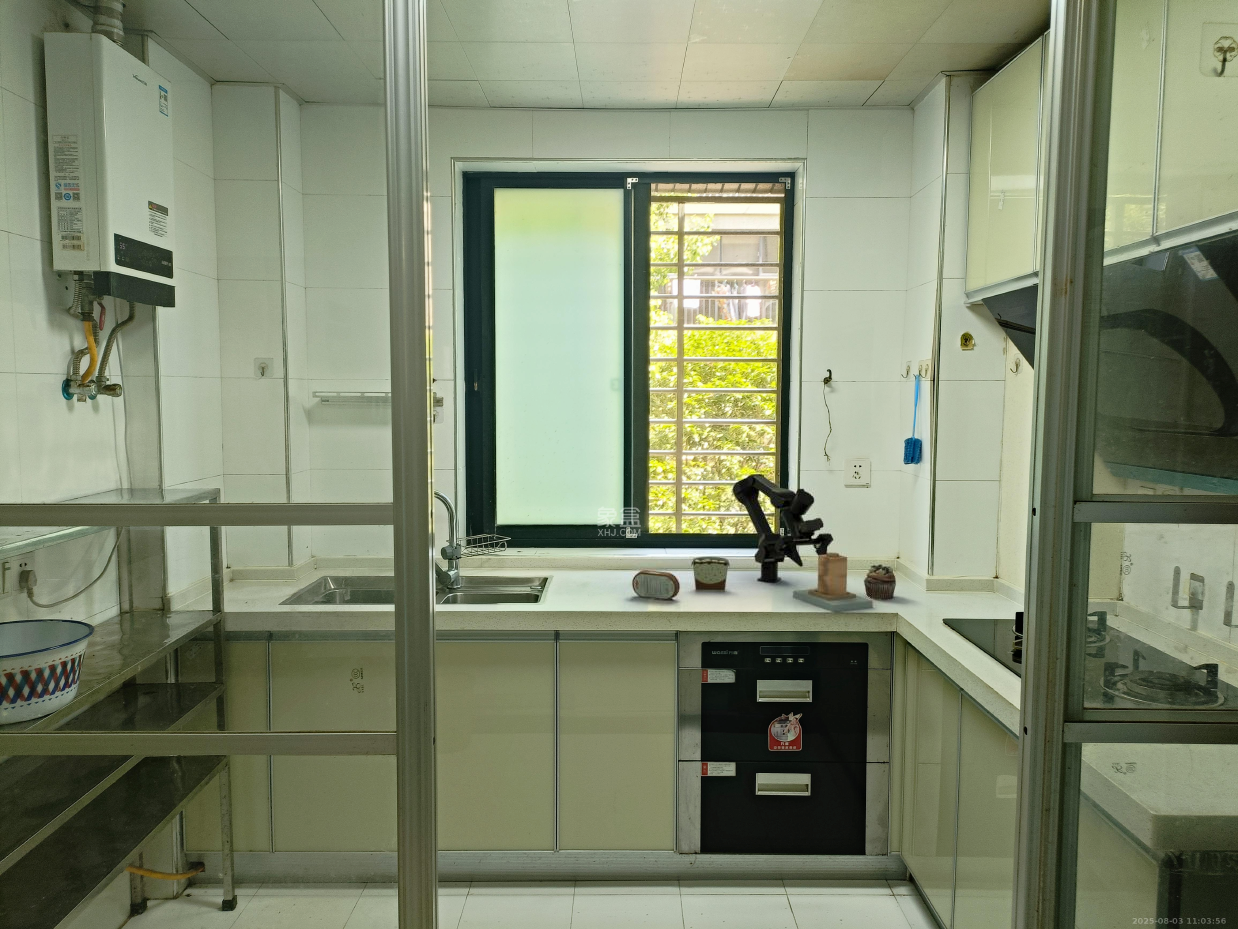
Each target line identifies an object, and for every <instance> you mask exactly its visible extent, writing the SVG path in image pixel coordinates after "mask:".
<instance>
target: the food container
mask: <svg viewBox="0 0 1238 929" xmlns="http://www.w3.org/2000/svg"><path fill="white" fill-rule="evenodd" d="M690 565H691V567H693V578H694V587H695V591H700V592H701V591H705V592H706V591H707V592H709V591H710V592H725V591H726V586H727V576H728V568H730V567H731V565H730V562H729V559H728V558H725V557H720V556H719V557H718V556H699V557H694V558H692V561H691V564H690Z"/></svg>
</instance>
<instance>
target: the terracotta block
mask: <svg viewBox="0 0 1238 929" xmlns="http://www.w3.org/2000/svg"><path fill="white" fill-rule="evenodd" d="M817 556H818V557H817V588H818V593H821V594H824V595H827V596H837V595H846V593H847V592H848V591H847V586H848V584H847V582H848V581H847V580H848V557H847V556H844V555H842V554H841V555H840V553H838V552H827V555H817Z"/></svg>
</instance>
